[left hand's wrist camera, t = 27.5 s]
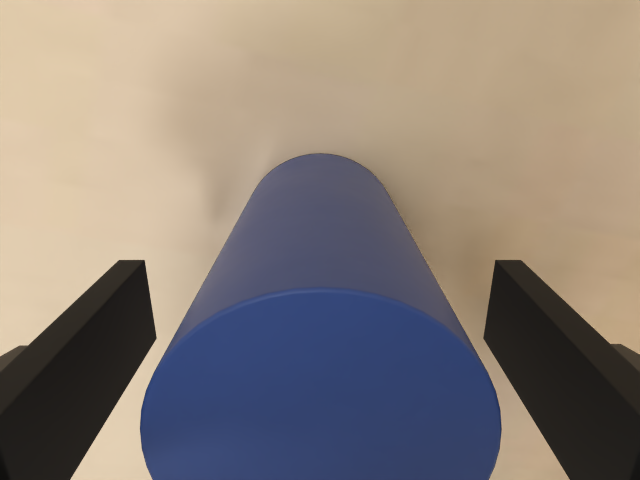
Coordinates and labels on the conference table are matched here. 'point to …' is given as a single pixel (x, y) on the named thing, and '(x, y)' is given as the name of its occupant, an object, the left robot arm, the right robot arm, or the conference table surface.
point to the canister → (320, 349)
